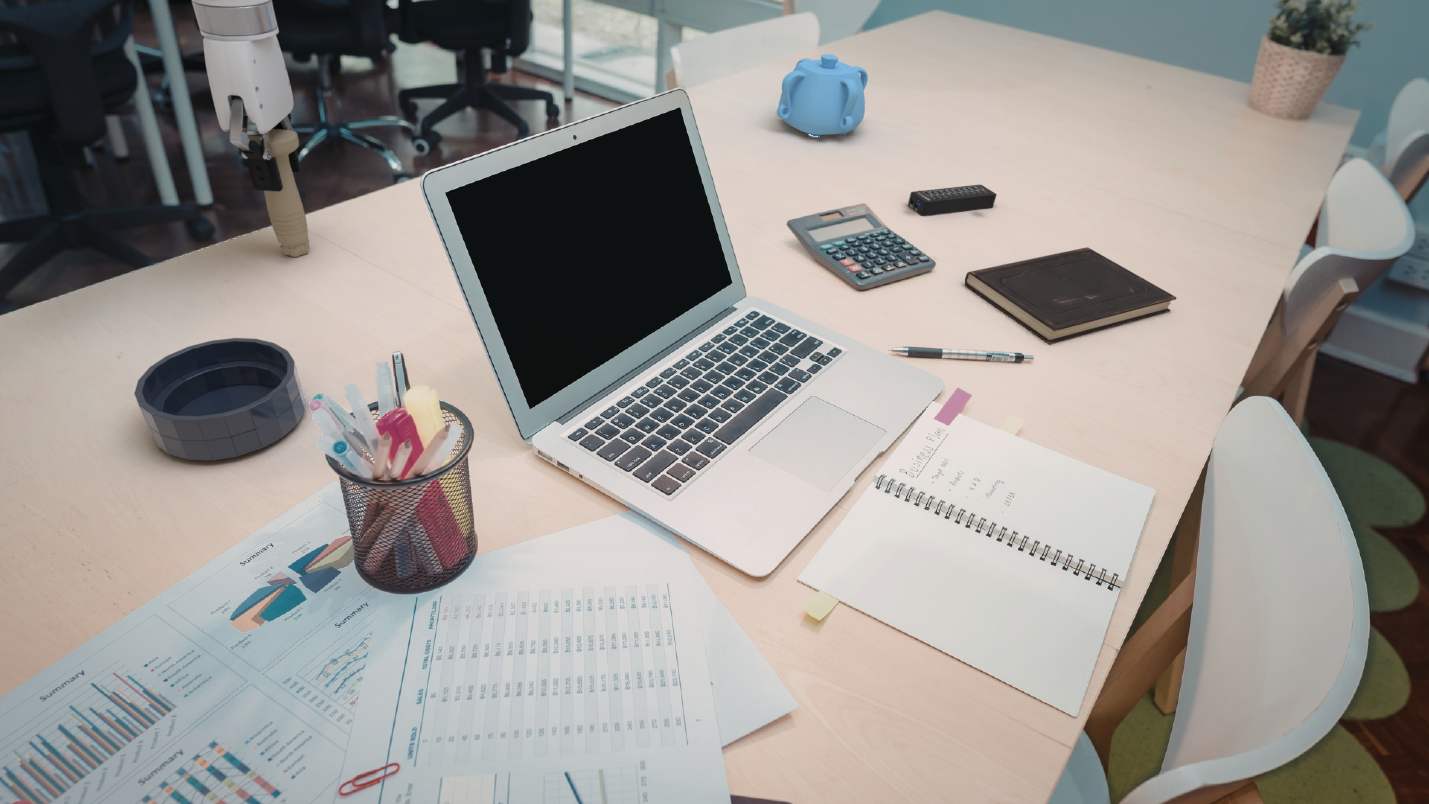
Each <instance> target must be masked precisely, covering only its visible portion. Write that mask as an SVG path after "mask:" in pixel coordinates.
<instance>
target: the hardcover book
mask: <svg viewBox="0 0 1429 804" xmlns="http://www.w3.org/2000/svg"><path fill="white" fill-rule="evenodd" d="M964 285H965V286H966V288H967V289H969V290H970V291H972V292H974V293H975V294H976V295H978V296H979V297H981V298H982V299H983V300H985V301H986V302H987V303H989V304H991V305H992V306H993V307H995V308H996V309H998V310H999V311H1000V312H1002V313H1004V314H1005V315H1006V316H1008V318H1011V319H1012V320H1014V321H1015V322H1016V323H1018V324H1020V325H1021V326H1022V327H1024V329H1027V330H1028V331H1029V332H1031V333H1032V334H1034V335H1035V336H1036V337H1038V338H1039V339H1041V340H1042V341H1044V342H1045V343H1047V344H1048V345H1052V344H1055V343H1059V342H1063V341H1067V340H1070V339H1074V338H1077V337H1081V336H1085V335H1088V334H1092V333H1095V332H1099V331H1103V330H1108V329H1110V328H1111V329H1112V328H1114V327H1118V326H1122V325H1125V324H1129V323H1132V322H1136V321H1140V320H1144V319H1147V318H1152V317H1154V316H1159V315H1162V314H1165V313H1170V312H1171V309H1170V308H1169V306H1170V305H1172V304H1171V302H1172V301H1175V300H1177V296H1175V295H1173V294H1171V293H1170V292H1169V291H1166V290H1165V289H1163V288H1161V287H1160V286H1157V285H1156V284H1154V283H1152V282H1151V281H1149V280H1147V279H1145V278H1144V277H1142V276H1140V275H1138V274H1136V273H1134V272H1133V271H1131V270H1130V269H1127V268H1126V267H1124V266H1122V265H1120V264H1118V263H1117V262H1115V261H1114V260H1111V259H1109V258H1108V257H1106V256H1104V255H1102V254H1101V253H1099V252H1097V251H1096V250H1093V249H1092V248H1090V247H1089V246H1088V247H1082V248H1077V249H1072V250H1067V251H1062V252H1059V253H1053V254H1049V255H1048V254H1047V255H1043V256H1039V257H1034V258H1028V259H1024V260H1020V261H1015V262H1010V263H1005V264H999V265H995V266H990V267H986V268H981V269H976V270H975V269H974V270H971V271H968V272H967V273H966V274H965V277H964Z"/></svg>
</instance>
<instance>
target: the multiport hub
mask: <svg viewBox="0 0 1429 804" xmlns="http://www.w3.org/2000/svg"><path fill="white" fill-rule="evenodd" d="M996 198H997V193H996V192H994V191H992V190H991V189H990V188H988V187H986V186H985V185H983V184H972V185H963V186H952V187H942V188H935V189H924V190H916V191H915V190H914V191H910V194H909V198H908V203H907V206H908V208H910V209H911V210H912V211H914V212H916V213H917V214H918V215H920V216H922V217H929V216H936V215H945V214H954V213H961V212H969V211H976V210H977V211H979V210H984V209H992V208H994V205H995V201H996Z"/></svg>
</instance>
